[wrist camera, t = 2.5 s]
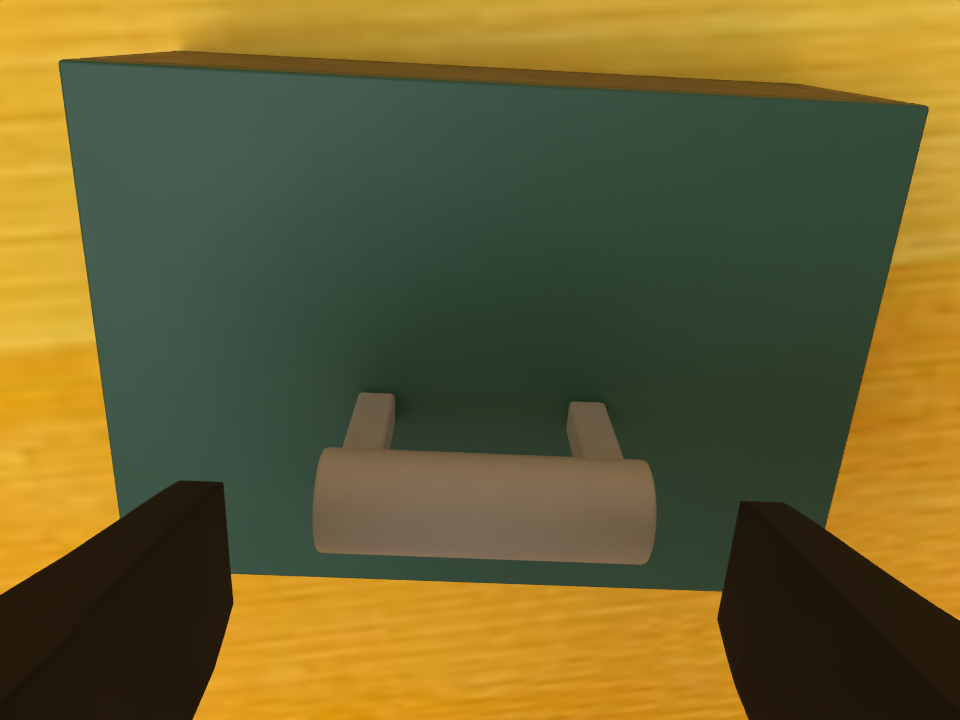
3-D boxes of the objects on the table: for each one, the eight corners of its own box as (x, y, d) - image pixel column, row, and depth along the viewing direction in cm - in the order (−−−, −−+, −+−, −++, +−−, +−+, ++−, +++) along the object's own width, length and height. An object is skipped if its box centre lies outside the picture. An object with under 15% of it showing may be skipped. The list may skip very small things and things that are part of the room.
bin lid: (799, 578, 18) (904, 755, 14) (136, 554, 17) (26, 727, 13) (912, 103, 14) (1109, 135, 10) (73, 58, 14) (-111, 71, 9)
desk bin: (732, 442, 23) (803, 554, 18) (208, 419, 22) (134, 529, 17) (800, 83, 19) (911, 102, 14) (177, 50, 19) (74, 57, 14)
